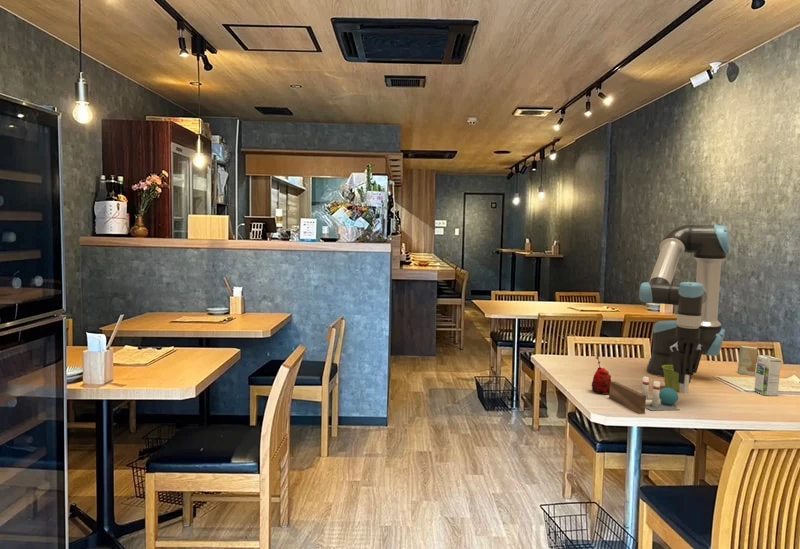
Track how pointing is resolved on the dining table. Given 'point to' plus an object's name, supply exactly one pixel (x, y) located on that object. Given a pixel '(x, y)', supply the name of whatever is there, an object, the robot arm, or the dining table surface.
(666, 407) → the pin deck mark
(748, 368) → the skincare box
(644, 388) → the pin back right
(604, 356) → the dining table surface
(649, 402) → the pin front
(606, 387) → the red clay folk toy
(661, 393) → the ball
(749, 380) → the dining table surface
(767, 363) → the syrup box
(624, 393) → the bar
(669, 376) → the plant pot
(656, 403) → the pin back left
